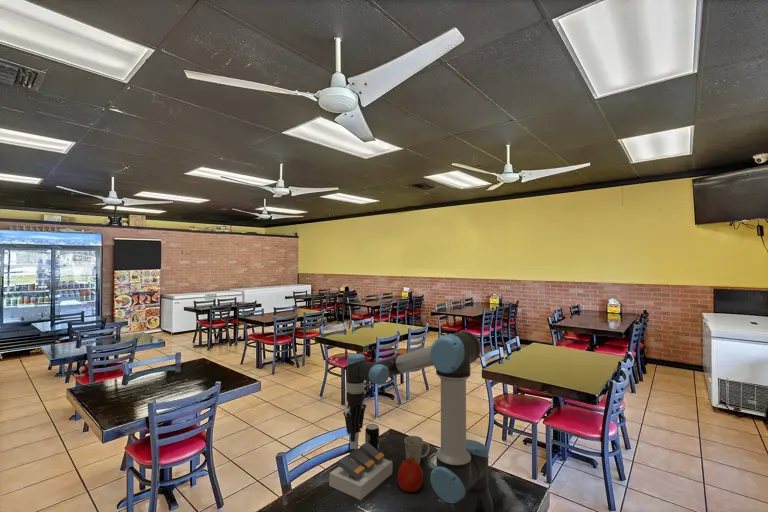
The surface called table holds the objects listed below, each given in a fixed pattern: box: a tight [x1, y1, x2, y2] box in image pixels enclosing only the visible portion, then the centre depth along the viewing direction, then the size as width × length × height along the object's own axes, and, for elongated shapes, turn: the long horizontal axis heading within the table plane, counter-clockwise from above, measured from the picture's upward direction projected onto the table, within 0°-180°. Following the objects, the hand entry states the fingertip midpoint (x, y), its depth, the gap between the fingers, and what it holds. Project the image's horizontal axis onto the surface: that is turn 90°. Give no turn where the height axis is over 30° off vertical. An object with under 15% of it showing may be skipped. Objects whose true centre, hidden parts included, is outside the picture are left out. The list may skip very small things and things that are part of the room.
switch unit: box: [328, 458, 393, 501], centre depth 150 cm, size 16×22×7 cm
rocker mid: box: [348, 448, 375, 472], centre depth 150 cm, size 10×5×2 cm, turn 55°
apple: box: [397, 458, 424, 493], centre depth 145 cm, size 10×10×10 cm
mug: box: [403, 435, 431, 465], centre depth 165 cm, size 8×13×10 cm, turn 115°
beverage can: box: [364, 423, 380, 452], centre depth 173 cm, size 7×7×12 cm
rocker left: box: [337, 455, 365, 479], centre depth 144 cm, size 10×5×2 cm, turn 56°
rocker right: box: [359, 442, 385, 464], centre depth 156 cm, size 10×5×2 cm, turn 55°
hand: (354, 448), depth 153 cm, fingers closed
